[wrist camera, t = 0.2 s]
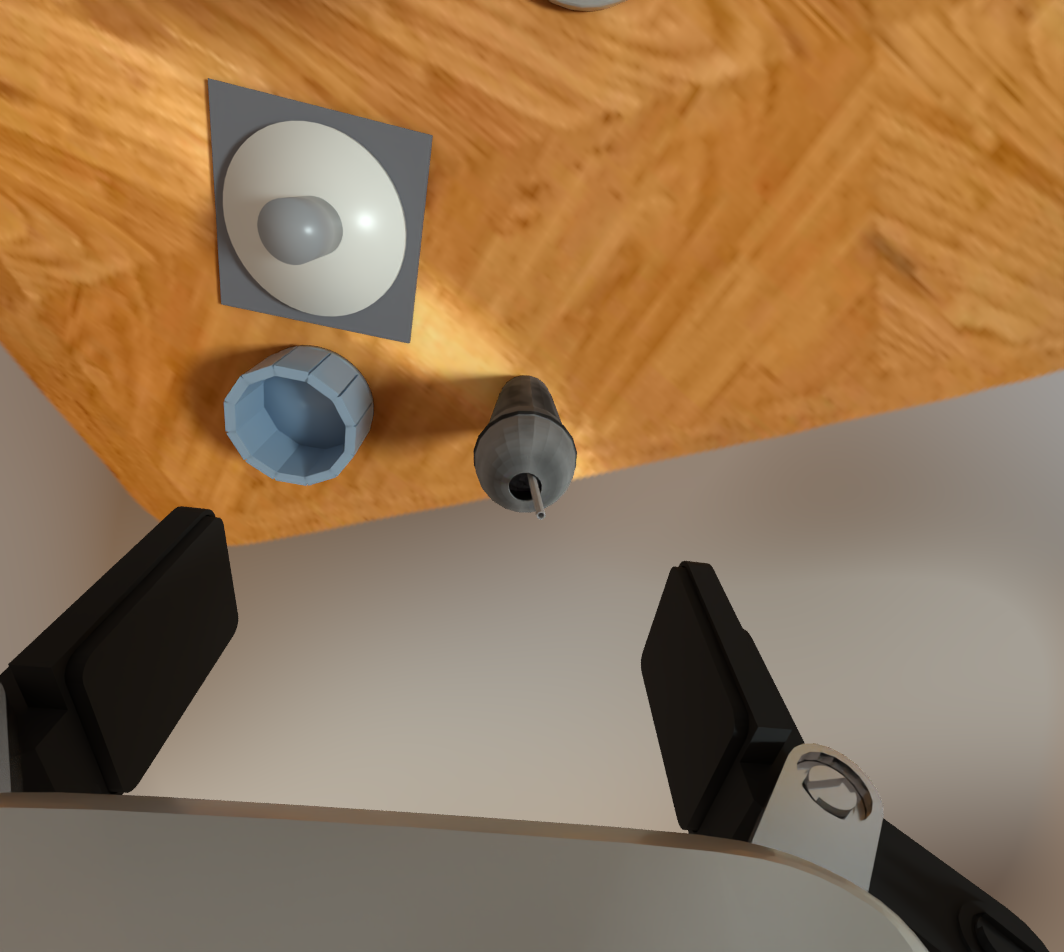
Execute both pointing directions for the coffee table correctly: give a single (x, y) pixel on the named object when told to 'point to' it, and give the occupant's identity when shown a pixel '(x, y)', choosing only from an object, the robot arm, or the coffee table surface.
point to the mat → (392, 146)
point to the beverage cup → (525, 449)
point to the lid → (314, 218)
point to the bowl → (299, 414)
